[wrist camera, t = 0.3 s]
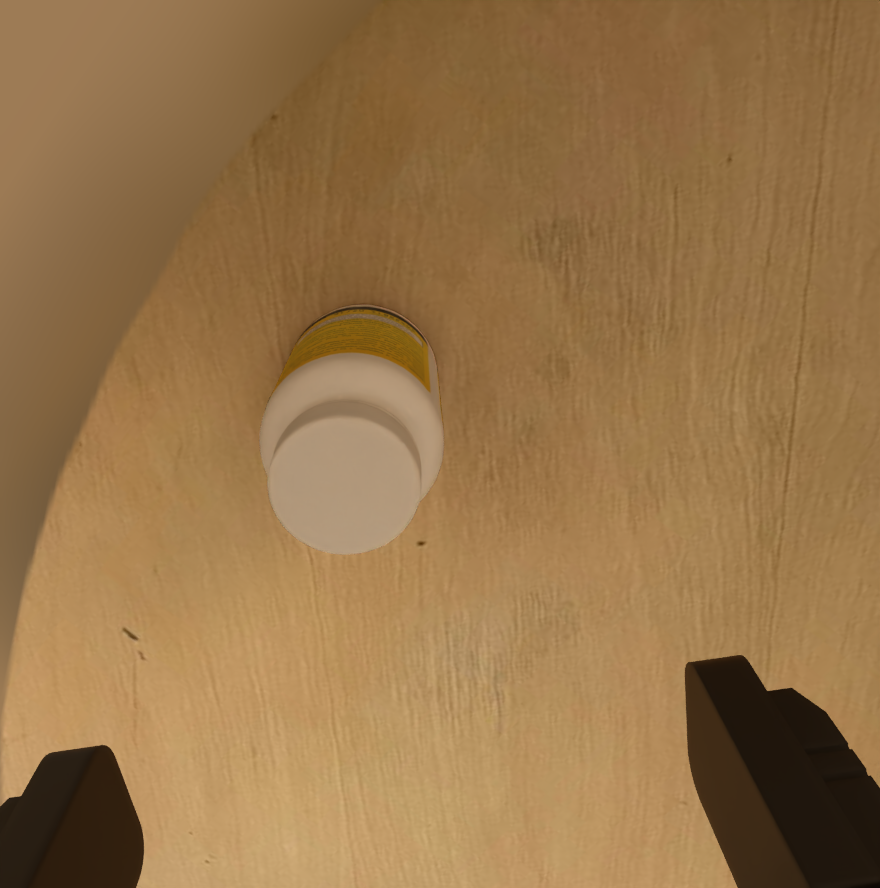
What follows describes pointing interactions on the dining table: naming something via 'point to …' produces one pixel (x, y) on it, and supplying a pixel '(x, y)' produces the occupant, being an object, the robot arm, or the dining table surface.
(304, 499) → the supplement bottle
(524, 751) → the dining table surface
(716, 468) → the dining table surface
